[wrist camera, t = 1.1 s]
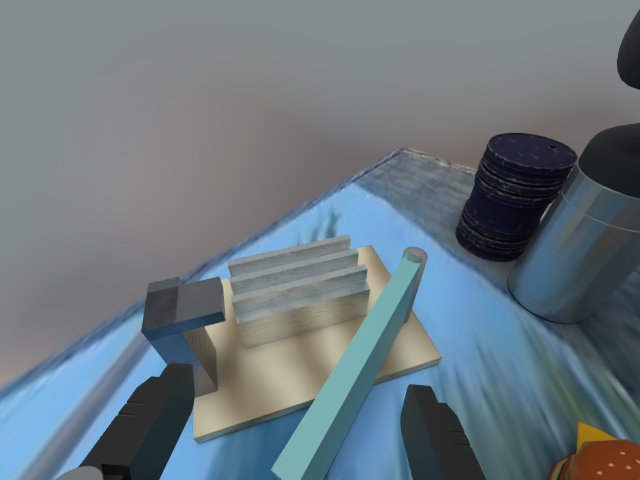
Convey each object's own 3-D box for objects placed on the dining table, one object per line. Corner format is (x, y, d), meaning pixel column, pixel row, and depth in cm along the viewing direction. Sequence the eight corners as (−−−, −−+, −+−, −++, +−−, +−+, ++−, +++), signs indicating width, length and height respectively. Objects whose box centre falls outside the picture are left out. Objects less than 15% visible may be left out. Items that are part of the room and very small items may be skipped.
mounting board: (370, 252, 45) (371, 245, 44) (438, 363, 33) (441, 357, 32) (198, 293, 41) (194, 285, 40) (198, 443, 28) (193, 438, 27)
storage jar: (473, 265, 43) (516, 172, 33) (444, 222, 50) (472, 135, 40) (539, 258, 44) (601, 165, 34) (501, 217, 51) (542, 130, 41)
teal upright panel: (394, 305, 36) (408, 243, 30) (411, 313, 35) (430, 252, 29) (285, 497, 23) (266, 466, 17) (308, 518, 22) (298, 494, 16)
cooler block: (343, 268, 41) (346, 193, 33) (379, 342, 33) (395, 267, 25) (194, 304, 37) (157, 230, 29) (193, 398, 29) (141, 331, 21)
